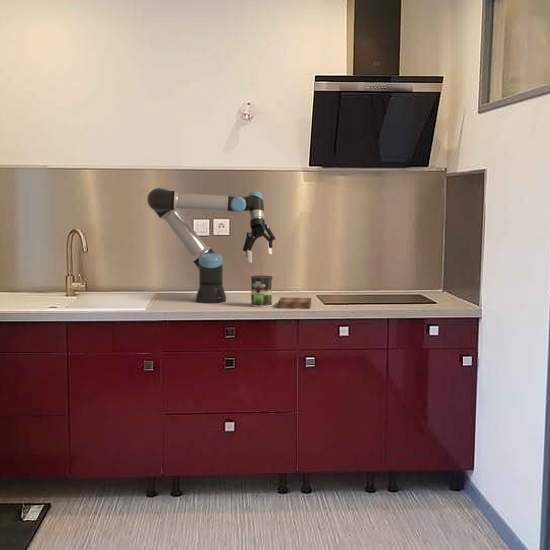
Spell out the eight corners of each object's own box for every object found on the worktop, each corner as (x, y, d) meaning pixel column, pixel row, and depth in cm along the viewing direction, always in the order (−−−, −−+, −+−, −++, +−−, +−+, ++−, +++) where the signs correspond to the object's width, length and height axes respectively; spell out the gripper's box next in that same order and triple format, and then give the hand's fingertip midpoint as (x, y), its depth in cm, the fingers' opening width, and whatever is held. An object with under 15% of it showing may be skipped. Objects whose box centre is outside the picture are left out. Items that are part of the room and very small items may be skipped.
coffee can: (268, 307, 341) (268, 278, 340) (247, 306, 345) (247, 277, 343) (275, 304, 351) (275, 275, 349) (255, 303, 354) (255, 275, 353)
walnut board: (277, 308, 340) (277, 301, 339) (280, 303, 354) (280, 297, 354) (309, 308, 338) (309, 302, 338) (311, 303, 353) (311, 297, 353)
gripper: (280, 214, 364) (283, 252, 356) (244, 230, 379) (246, 267, 371) (270, 209, 359) (273, 248, 351) (234, 226, 374) (236, 264, 366)
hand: (259, 258), depth 361 cm, fingers open, 13 cm apart
